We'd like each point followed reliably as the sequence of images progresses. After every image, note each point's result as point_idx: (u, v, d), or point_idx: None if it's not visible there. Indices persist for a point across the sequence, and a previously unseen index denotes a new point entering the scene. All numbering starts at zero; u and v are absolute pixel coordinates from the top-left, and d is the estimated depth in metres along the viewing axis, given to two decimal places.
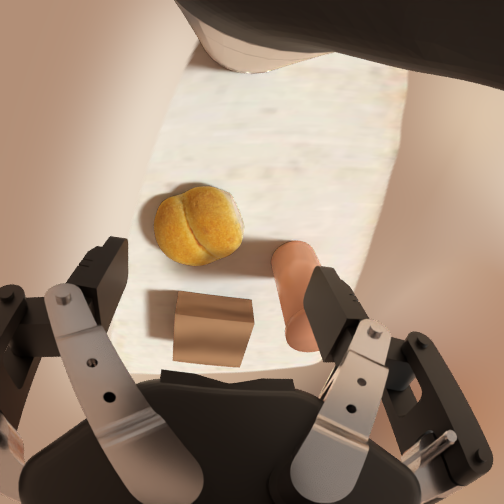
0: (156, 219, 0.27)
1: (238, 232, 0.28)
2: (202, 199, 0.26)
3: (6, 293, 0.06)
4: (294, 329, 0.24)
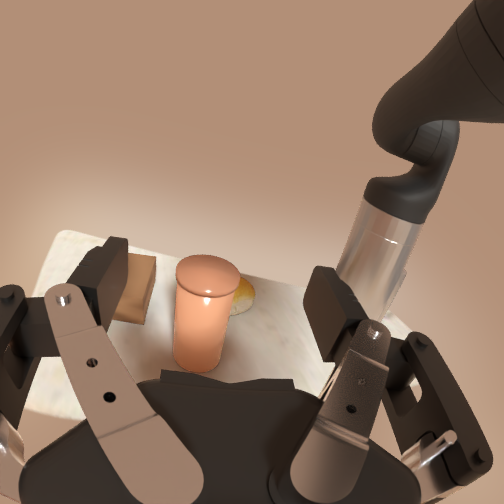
0: None
1: None
2: None
3: (6, 293, 0.06)
4: (210, 258, 0.27)
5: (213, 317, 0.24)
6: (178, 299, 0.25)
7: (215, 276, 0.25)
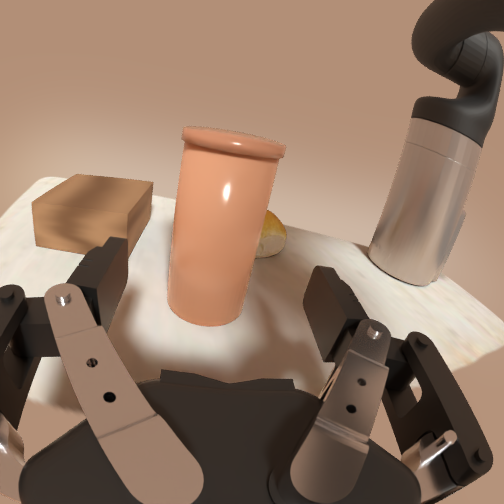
0: None
1: None
2: None
3: (6, 293, 0.06)
4: (236, 132, 0.17)
5: (243, 204, 0.14)
6: (182, 178, 0.14)
7: (247, 138, 0.14)
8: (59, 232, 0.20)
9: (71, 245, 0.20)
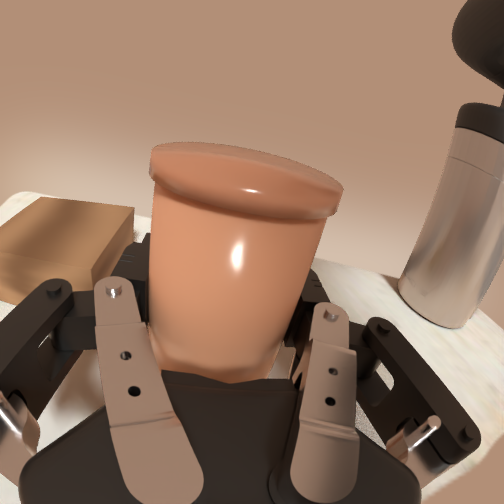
0: None
1: None
2: None
3: (53, 287, 0.07)
4: (248, 150, 0.10)
5: (266, 302, 0.08)
6: (153, 245, 0.08)
7: (273, 169, 0.08)
8: (12, 285, 0.13)
9: None
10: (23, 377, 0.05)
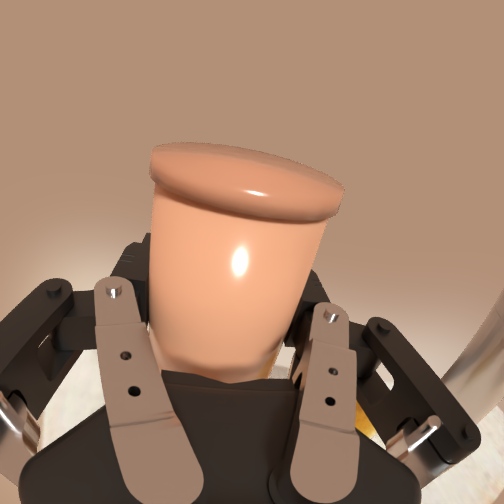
0: None
1: None
2: None
3: (53, 287, 0.07)
4: (248, 151, 0.10)
5: (267, 303, 0.08)
6: (154, 246, 0.08)
7: (274, 170, 0.08)
8: None
9: None
10: (23, 377, 0.05)
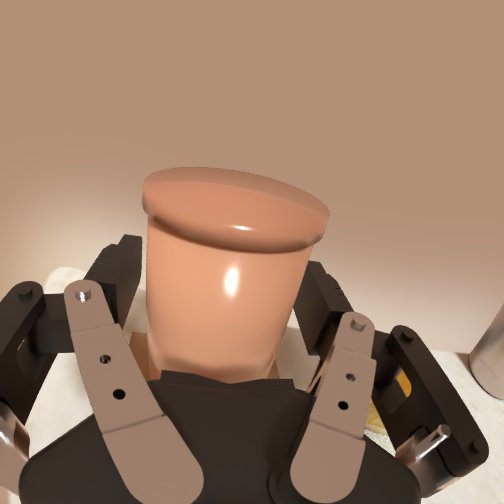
0: None
1: None
2: None
3: (25, 289, 0.06)
4: (239, 174, 0.11)
5: (255, 325, 0.08)
6: (149, 272, 0.08)
7: (260, 198, 0.08)
8: None
9: None
10: (6, 383, 0.04)
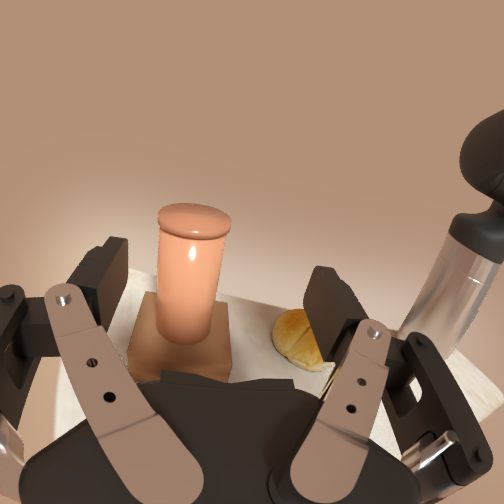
0: None
1: None
2: None
3: (6, 293, 0.06)
4: (199, 206, 0.24)
5: (199, 268, 0.21)
6: (160, 248, 0.21)
7: (202, 219, 0.21)
8: (158, 373, 0.23)
9: None
10: None
